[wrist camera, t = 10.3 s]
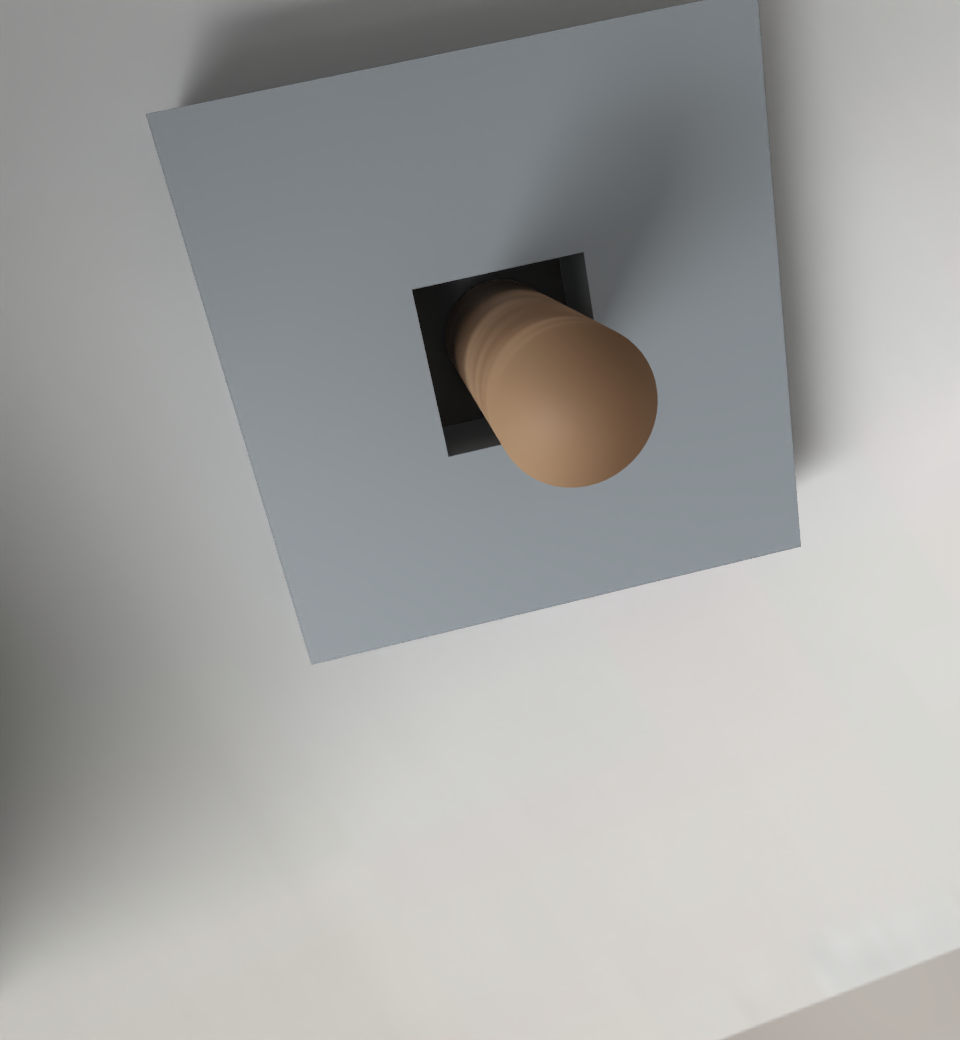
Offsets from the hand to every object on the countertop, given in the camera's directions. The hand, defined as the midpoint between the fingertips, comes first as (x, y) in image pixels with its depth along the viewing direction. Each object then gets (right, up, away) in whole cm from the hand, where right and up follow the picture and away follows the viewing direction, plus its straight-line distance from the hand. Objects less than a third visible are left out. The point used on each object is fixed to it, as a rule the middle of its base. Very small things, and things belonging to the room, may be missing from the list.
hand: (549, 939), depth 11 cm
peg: (0, +12, +22) cm, 25 cm away
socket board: (0, +12, +22) cm, 25 cm away
